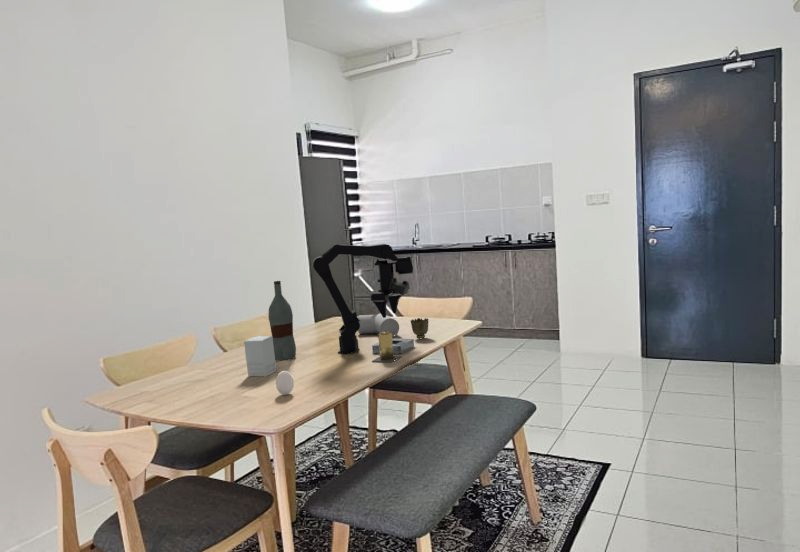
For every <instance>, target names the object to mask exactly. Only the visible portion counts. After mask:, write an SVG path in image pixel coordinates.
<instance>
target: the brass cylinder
mask: <svg viewBox="0 0 800 552" xmlns="http://www.w3.org/2000/svg"><path fill="white" fill-rule="evenodd" d="M377 335H378V342H379V349H380V353H379V357H380V359H381V360H391V359H393V358H394V356H395V355H394V354H393V344H392V339H393V337H392V333H389V331H384V332H380V333H377Z"/></svg>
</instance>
